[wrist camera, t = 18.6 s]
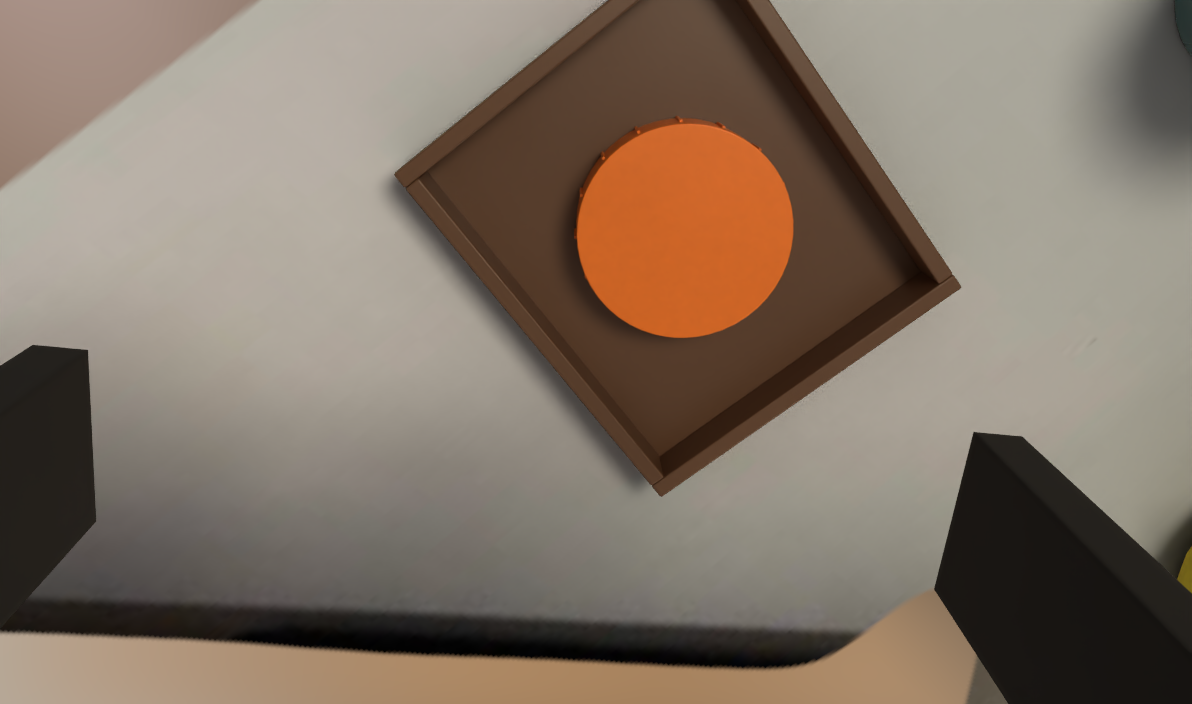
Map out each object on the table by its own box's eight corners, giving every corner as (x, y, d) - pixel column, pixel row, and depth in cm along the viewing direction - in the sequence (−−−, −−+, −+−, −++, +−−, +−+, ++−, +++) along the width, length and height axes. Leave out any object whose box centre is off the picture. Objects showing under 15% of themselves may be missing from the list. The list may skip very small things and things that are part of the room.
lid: (821, 242, 37) (835, 255, 35) (655, 360, 38) (660, 379, 36) (705, 73, 35) (713, 76, 33) (533, 202, 36) (532, 213, 34)
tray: (404, 164, 36) (392, 174, 34) (702, -77, 34) (713, -85, 32) (655, 470, 40) (660, 498, 38) (937, 271, 38) (962, 287, 36)
